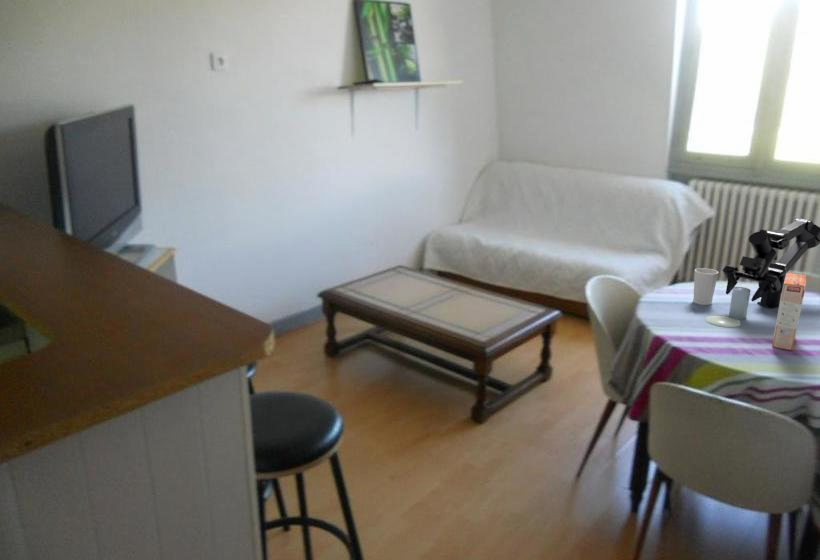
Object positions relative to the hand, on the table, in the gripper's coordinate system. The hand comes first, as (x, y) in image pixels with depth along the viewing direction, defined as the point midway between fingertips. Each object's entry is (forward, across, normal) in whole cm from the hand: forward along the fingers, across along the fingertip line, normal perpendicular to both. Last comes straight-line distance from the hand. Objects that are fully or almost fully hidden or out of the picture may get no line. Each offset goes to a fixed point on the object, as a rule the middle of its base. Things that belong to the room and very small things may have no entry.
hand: (739, 297), depth 226 cm
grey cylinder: (+4, 0, +6) cm, 7 cm away
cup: (+2, -16, +9) cm, 18 cm away
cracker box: (+12, +22, -2) cm, 25 cm away
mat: (+11, 0, -1) cm, 11 cm away
